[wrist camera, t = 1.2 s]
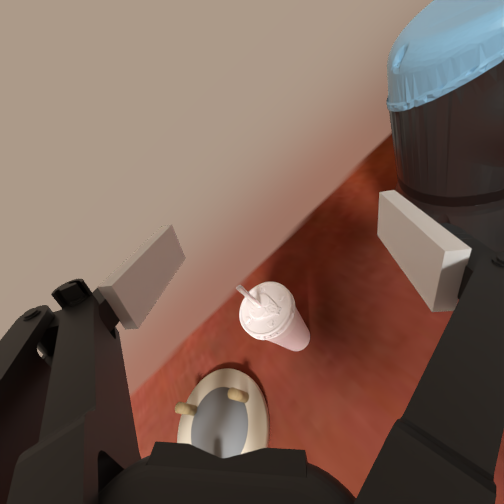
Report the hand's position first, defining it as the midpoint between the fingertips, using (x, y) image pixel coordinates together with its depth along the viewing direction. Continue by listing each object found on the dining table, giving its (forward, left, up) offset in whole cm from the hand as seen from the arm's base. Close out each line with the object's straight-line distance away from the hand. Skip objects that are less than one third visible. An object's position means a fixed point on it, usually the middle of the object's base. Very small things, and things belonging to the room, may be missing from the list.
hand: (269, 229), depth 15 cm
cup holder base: (+18, +6, -21) cm, 28 cm away
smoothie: (+6, -2, -21) cm, 22 cm away
